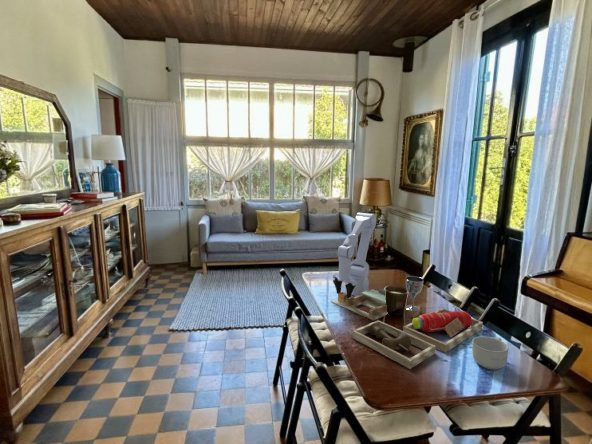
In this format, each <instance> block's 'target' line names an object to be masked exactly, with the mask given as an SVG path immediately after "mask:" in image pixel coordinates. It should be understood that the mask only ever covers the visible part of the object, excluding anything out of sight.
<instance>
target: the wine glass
mask: <svg viewBox="0 0 592 444" xmlns="http://www.w3.org/2000/svg"><path fill="white" fill-rule="evenodd" d="M423 286H424V278H422V277H420V276H415V275H410V276H406V277H405V287H406V291H407V292H408V293H409V295H410V297H411V305H410V304H409V305H405V306H406V307H405V306H404V309H405V310H407V311H409V312H420V311H421V308H420V307H418V306H417V305H415V303H414V302H415V298H416V296H417V295H418V294H420V293H421V291H422V290H423Z"/></svg>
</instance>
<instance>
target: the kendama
mask: <svg viewBox="0 0 592 444" xmlns="http://www.w3.org/2000/svg"><path fill="white" fill-rule="evenodd" d="M372 323H373V322H372ZM368 334H369V335H371V336H375V338H377V339H381V341H382V342H381V344H382V345H384V346H386V347H388V348H390V349H392V350H394V351H395V350H396V349H398V348H400V349H403V350H404V351H406V352H409V349H410V348H411V346H412V344H411V340H410V338H409V336H408V335H407V334H406V333H404V332H401V333H400V334H399V336H398V337H396V338H393V337H391V336H390V335H389V333H387V332H385V330H384V328H380V327H379V325H378V324H377V323H373V324H371V325H370V327H369V333H368Z"/></svg>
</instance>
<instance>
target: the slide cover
mask: <svg viewBox="0 0 592 444" xmlns="http://www.w3.org/2000/svg"><path fill="white" fill-rule="evenodd" d="M361 294H362V295H365V296H367V297H370V298H372V299H375V300H378V301H380V302H383V303H385V304H386V300H385V289H382V288H379V289H378V290H376V289H373V288H371V289H368V291H365V292H362V293H361Z"/></svg>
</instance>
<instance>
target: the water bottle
mask: <svg viewBox="0 0 592 444" xmlns="http://www.w3.org/2000/svg"><path fill="white" fill-rule="evenodd" d="M452 311H453V312H447V313H433V312H428V313H422V314H420V315H419V316H418V317H414V318H412V322H411V323H412V324H413V327H414V328H415V330H421V331H422V332H424V333H435V332H437V333H438V332H441V331H445V332H446V334H447V336H448V337H449V338H453V336H454V337H455V335H456V334H458V333H459V332H460V331H462V330H467V329H469V328H470V327H472V326H471V325H472V318H473V317H472V316H471V314H470V313H468V312H467V311H463V310H455V311H454V310H452Z"/></svg>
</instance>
